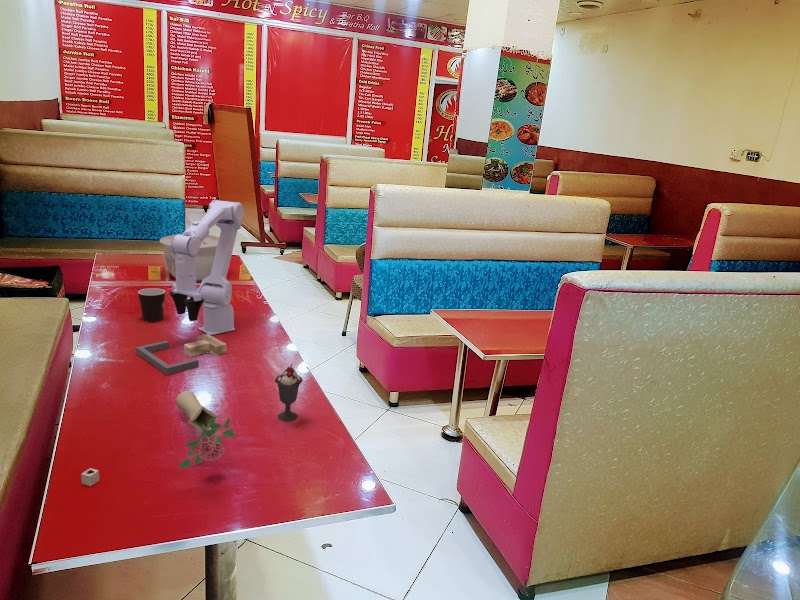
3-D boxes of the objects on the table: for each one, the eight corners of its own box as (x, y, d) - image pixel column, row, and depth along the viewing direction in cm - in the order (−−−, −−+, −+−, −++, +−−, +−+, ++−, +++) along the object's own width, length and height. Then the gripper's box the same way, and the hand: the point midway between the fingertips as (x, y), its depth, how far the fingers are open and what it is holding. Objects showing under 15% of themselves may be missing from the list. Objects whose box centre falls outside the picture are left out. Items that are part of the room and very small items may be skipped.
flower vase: (202, 437, 143) (242, 485, 113) (151, 432, 136) (179, 482, 107) (213, 391, 144) (256, 427, 114) (163, 384, 137) (195, 420, 107)
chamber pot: (214, 288, 239) (214, 240, 233) (149, 282, 238) (147, 234, 232) (234, 272, 266) (234, 228, 260) (175, 267, 265) (174, 223, 259)
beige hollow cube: (90, 478, 112) (89, 466, 111) (99, 480, 112) (98, 469, 111) (81, 483, 110) (80, 472, 109) (90, 486, 110) (90, 475, 109)
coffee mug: (156, 324, 193) (155, 296, 190) (134, 321, 195) (132, 293, 192) (176, 314, 204) (175, 288, 201) (154, 311, 206) (153, 284, 203)
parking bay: (167, 346, 176) (166, 340, 176) (198, 366, 165) (198, 360, 164) (136, 353, 170) (136, 347, 169) (166, 375, 158) (166, 368, 157)
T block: (207, 342, 182) (207, 333, 181) (226, 353, 175) (226, 344, 175) (178, 349, 175) (177, 340, 174) (196, 361, 168) (196, 351, 167)
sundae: (288, 426, 137) (290, 369, 133) (268, 417, 140) (269, 361, 136) (306, 416, 142) (309, 361, 138) (286, 407, 146) (288, 353, 141)
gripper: (161, 270, 173) (163, 312, 177) (184, 282, 164) (186, 326, 168) (184, 268, 178) (185, 308, 182) (207, 279, 169) (208, 321, 173)
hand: (187, 317), depth 175 cm, fingers open, 7 cm apart
